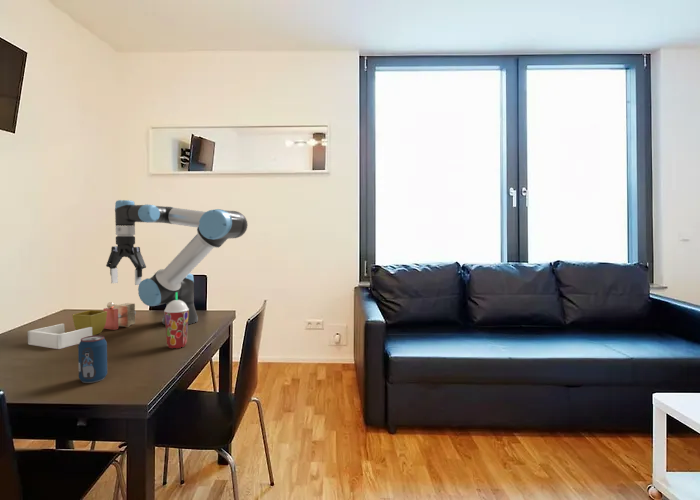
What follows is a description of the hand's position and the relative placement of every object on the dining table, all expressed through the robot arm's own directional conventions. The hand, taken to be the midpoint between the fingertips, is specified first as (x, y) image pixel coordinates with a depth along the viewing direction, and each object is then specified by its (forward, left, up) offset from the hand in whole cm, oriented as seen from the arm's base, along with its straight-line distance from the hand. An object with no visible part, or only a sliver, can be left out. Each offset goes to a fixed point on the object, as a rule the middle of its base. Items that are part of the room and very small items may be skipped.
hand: (126, 283), depth 182 cm
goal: (0, +29, -19) cm, 34 cm away
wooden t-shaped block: (0, +3, -18) cm, 18 cm away
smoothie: (-44, +18, -19) cm, 51 cm away
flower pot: (0, +17, -19) cm, 26 cm away
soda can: (-46, +53, -19) cm, 73 cm away
